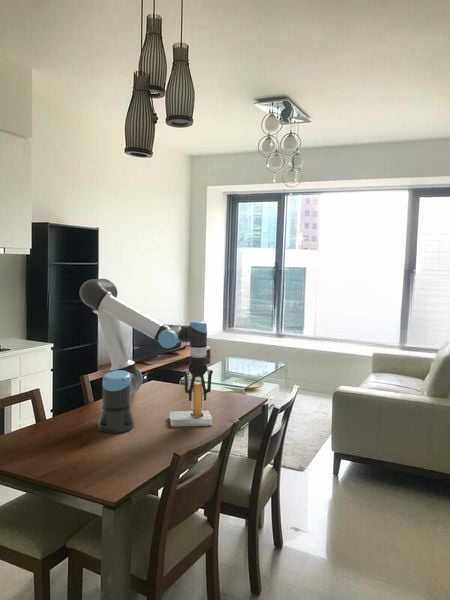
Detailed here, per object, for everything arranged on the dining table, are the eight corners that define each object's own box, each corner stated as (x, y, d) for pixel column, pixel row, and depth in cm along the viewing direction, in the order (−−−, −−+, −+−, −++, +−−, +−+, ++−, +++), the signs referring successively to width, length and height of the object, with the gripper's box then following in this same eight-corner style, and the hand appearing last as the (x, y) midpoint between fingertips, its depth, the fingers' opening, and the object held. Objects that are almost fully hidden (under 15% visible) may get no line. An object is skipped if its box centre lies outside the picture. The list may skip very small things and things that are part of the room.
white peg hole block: (170, 426, 206) (170, 419, 206) (169, 417, 218) (169, 411, 218) (212, 425, 209) (212, 418, 209) (208, 416, 221) (208, 410, 221)
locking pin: (193, 416, 211) (193, 385, 210) (192, 413, 215) (192, 382, 214) (202, 416, 212) (202, 384, 211) (201, 413, 216) (201, 382, 215)
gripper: (179, 357, 207) (178, 410, 208) (218, 357, 210) (217, 409, 211) (178, 354, 214) (177, 405, 216) (215, 354, 217) (215, 404, 219)
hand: (197, 407), depth 214 cm, fingers closed on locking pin, 4 cm apart
